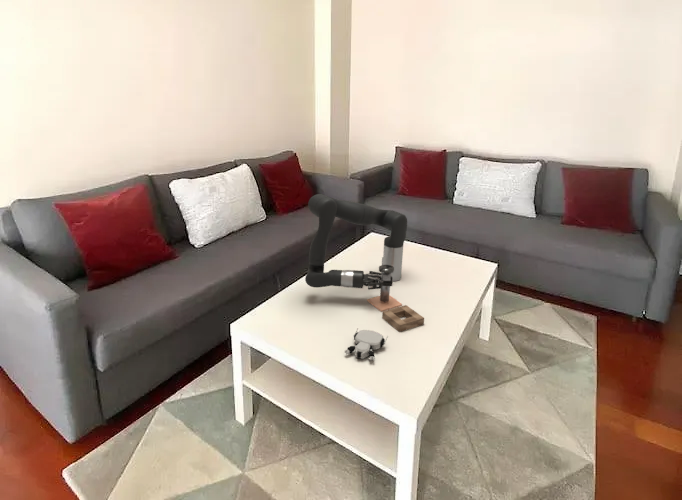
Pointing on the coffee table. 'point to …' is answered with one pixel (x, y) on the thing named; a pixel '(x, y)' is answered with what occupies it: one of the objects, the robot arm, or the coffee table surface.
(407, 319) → the collar
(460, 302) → the coffee table surface
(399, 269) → the robot arm
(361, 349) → the robot toy
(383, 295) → the peg
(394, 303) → the pad
